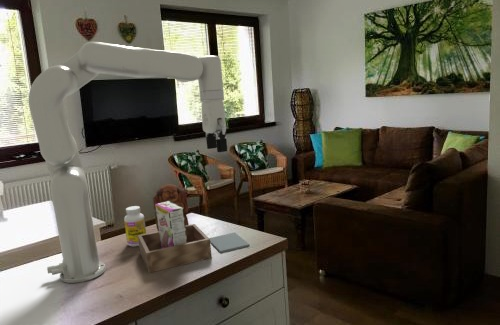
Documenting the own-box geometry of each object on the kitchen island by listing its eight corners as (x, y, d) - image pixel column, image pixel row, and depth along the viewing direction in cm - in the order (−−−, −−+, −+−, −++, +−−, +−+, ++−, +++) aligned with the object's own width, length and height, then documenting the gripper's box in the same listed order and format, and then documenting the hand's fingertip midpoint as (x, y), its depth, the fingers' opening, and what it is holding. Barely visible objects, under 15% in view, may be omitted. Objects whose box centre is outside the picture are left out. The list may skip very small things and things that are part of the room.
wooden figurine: (163, 238, 147) (157, 189, 144) (156, 233, 152) (150, 186, 149) (192, 229, 154) (187, 182, 150) (185, 225, 159) (180, 180, 156)
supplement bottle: (126, 248, 140) (121, 211, 138) (128, 241, 147) (123, 206, 144) (147, 245, 142) (142, 209, 139) (147, 238, 148) (143, 204, 146)
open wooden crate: (149, 272, 120) (146, 253, 119) (140, 252, 135) (137, 235, 134) (211, 257, 127) (209, 239, 126) (196, 240, 142) (194, 223, 141)
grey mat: (220, 252, 130) (220, 251, 130) (207, 240, 142) (207, 238, 142) (249, 245, 134) (249, 244, 134) (235, 234, 146) (234, 232, 146)
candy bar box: (160, 252, 134) (154, 203, 131) (174, 248, 137) (169, 200, 134) (174, 263, 125) (168, 211, 122) (189, 258, 128) (184, 207, 125)
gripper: (192, 97, 137) (197, 148, 140) (209, 97, 122) (215, 154, 125) (214, 95, 140) (218, 145, 143) (233, 95, 124) (238, 151, 128)
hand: (217, 149), depth 134 cm, fingers open, 9 cm apart
